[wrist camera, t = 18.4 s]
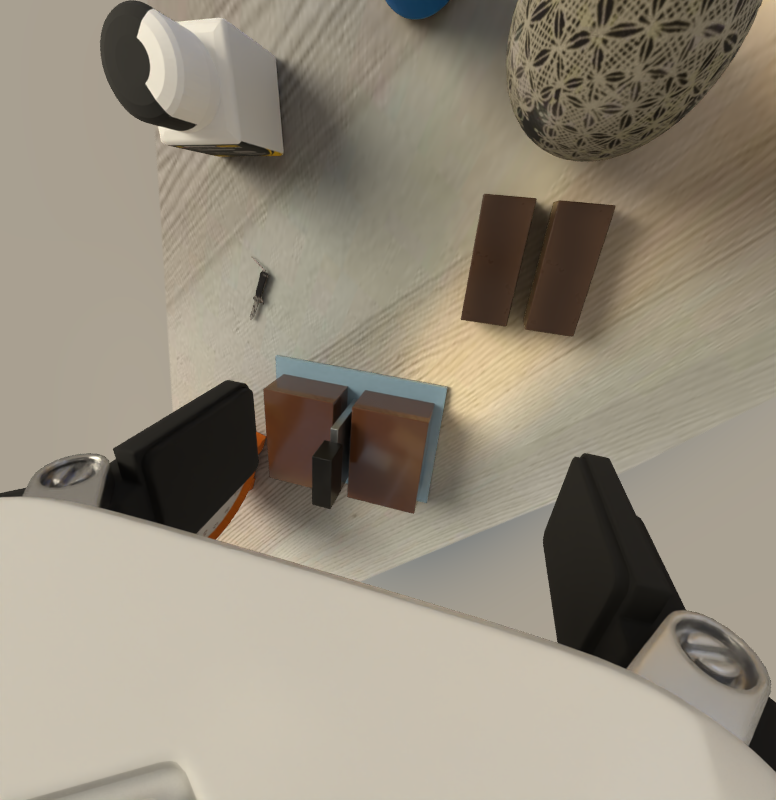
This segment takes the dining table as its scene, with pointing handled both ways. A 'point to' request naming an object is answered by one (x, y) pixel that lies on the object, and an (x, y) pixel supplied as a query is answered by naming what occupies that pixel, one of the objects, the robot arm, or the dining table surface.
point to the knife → (259, 290)
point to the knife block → (557, 267)
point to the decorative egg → (616, 68)
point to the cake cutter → (332, 462)
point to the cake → (355, 429)
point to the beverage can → (416, 7)
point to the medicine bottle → (193, 81)
